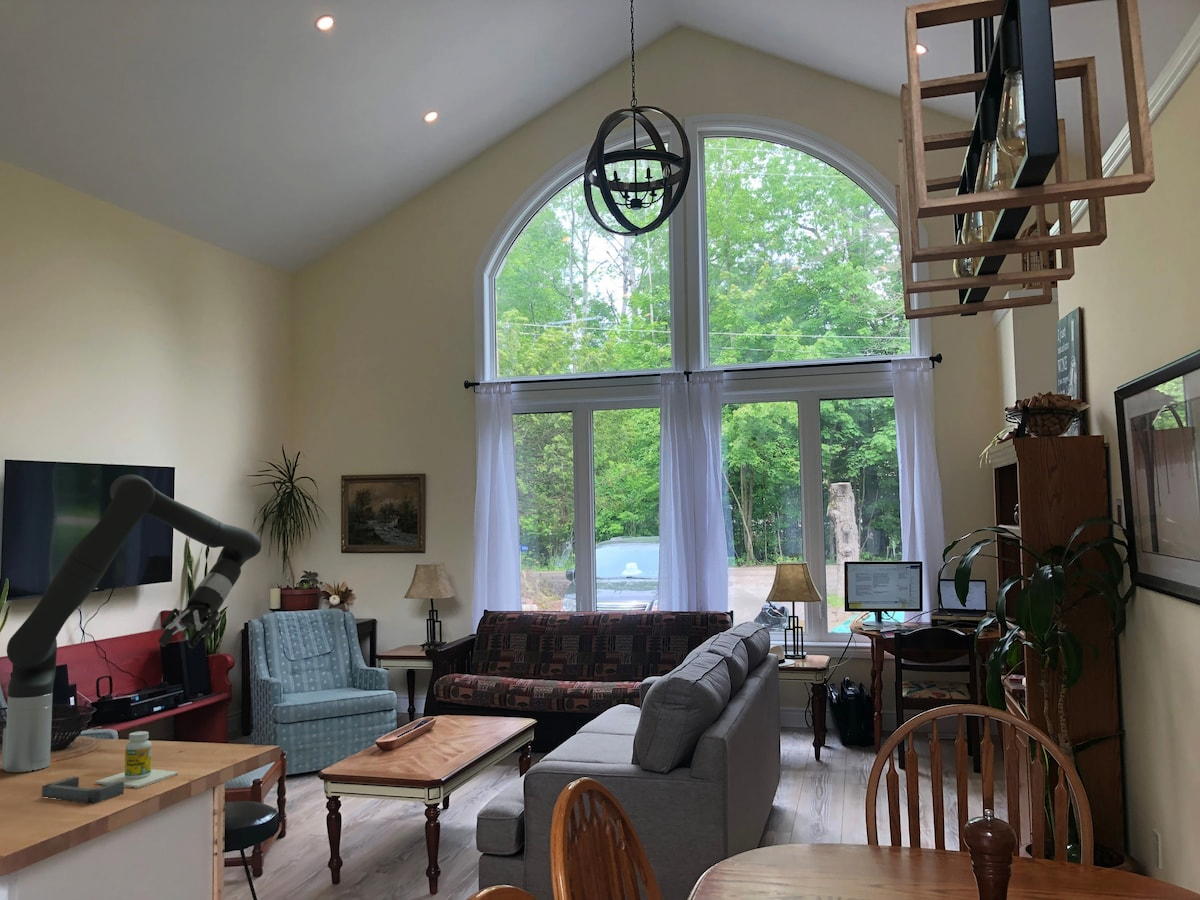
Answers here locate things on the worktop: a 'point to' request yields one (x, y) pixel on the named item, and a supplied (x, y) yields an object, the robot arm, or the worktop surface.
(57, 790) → the bracket
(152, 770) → the cream pad
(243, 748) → the worktop surface
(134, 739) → the supplement bottle
